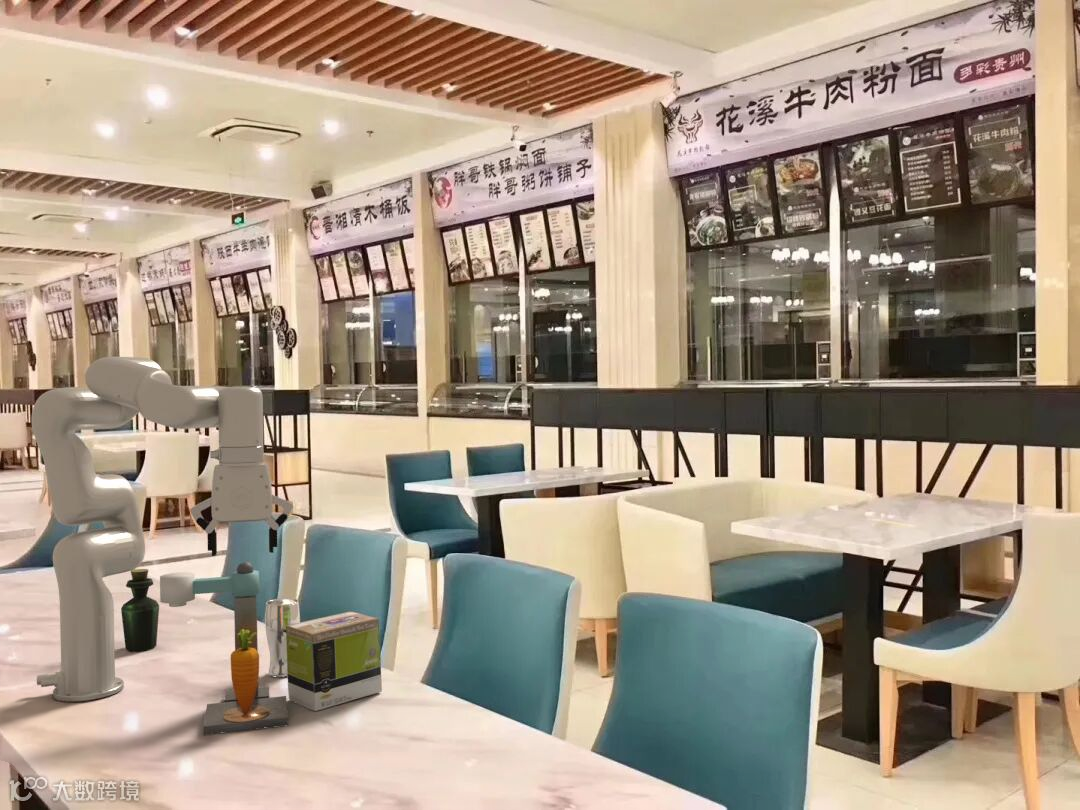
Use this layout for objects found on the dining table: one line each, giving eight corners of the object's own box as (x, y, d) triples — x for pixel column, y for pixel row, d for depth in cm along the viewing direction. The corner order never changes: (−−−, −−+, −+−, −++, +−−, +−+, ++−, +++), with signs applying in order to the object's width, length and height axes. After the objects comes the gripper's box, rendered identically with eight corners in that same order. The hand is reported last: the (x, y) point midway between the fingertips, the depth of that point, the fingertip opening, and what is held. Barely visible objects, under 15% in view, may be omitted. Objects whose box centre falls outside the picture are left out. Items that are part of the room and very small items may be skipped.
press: (203, 735, 159) (201, 618, 159) (209, 700, 177) (207, 595, 177) (288, 725, 163) (286, 611, 163) (285, 692, 182) (283, 589, 181)
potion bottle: (128, 655, 209) (126, 575, 209) (116, 648, 215) (115, 570, 215) (165, 648, 214) (163, 570, 214) (153, 641, 220) (151, 565, 220)
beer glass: (291, 679, 190) (290, 606, 190) (259, 677, 191) (258, 604, 191) (306, 669, 197) (305, 598, 196) (276, 667, 198) (274, 597, 198)
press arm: (259, 595, 180) (258, 558, 180) (259, 602, 174) (258, 563, 174) (162, 602, 175) (161, 564, 175) (158, 609, 169) (158, 570, 169)
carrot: (234, 708, 167) (233, 625, 167) (262, 707, 168) (261, 624, 168) (227, 718, 163) (226, 632, 162) (256, 717, 163) (255, 632, 163)
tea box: (353, 682, 187) (352, 609, 187) (382, 693, 180) (381, 617, 180) (286, 700, 177) (284, 623, 177) (314, 713, 170) (312, 632, 169)
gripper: (187, 459, 158) (189, 559, 159) (292, 456, 163) (294, 553, 164) (190, 456, 166) (192, 552, 166) (291, 453, 170) (292, 547, 171)
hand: (243, 553), depth 165 cm, fingers open, 9 cm apart
